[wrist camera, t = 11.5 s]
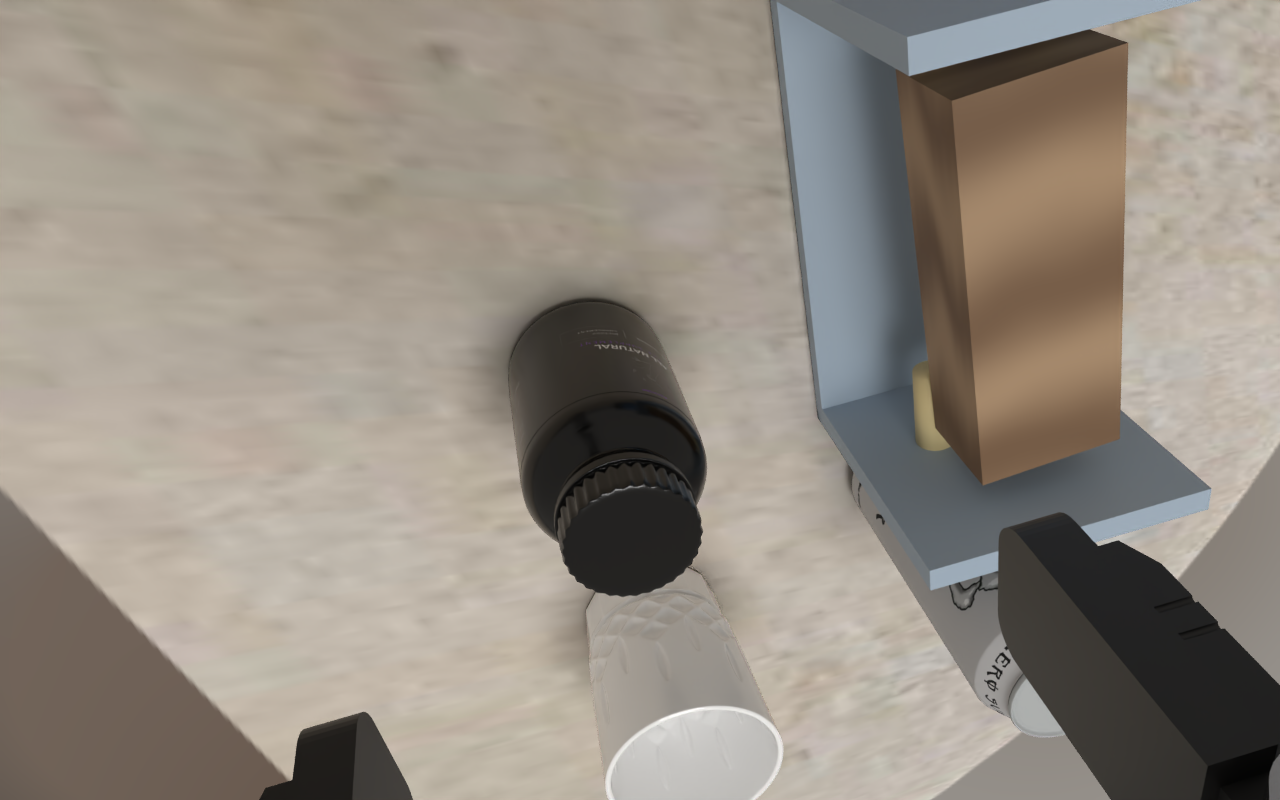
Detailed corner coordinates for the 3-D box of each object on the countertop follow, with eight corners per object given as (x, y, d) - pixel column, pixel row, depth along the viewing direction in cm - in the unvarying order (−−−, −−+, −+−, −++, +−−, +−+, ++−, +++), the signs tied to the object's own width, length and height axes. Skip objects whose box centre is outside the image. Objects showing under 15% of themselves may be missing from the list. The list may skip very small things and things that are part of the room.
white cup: (720, 653, 53) (777, 813, 45) (576, 675, 52) (607, 843, 43) (726, 540, 49) (790, 693, 41) (570, 561, 48) (602, 723, 39)
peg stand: (766, -32, 35) (907, 37, 25) (1053, -104, 36) (1303, -65, 26) (818, 417, 46) (930, 590, 36) (1037, 356, 47) (1208, 509, 37)
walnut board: (895, 69, 32) (951, 100, 29) (1053, 17, 32) (1128, 42, 29) (935, 428, 40) (982, 485, 37) (1061, 385, 40) (1119, 438, 37)
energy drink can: (930, 387, 46) (1120, 605, 34) (977, 464, 50) (1168, 690, 37) (823, 457, 47) (970, 695, 35) (876, 529, 51) (1029, 770, 38)
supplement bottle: (646, 277, 41) (723, 434, 31) (673, 411, 44) (749, 590, 34) (485, 319, 40) (508, 493, 30) (526, 450, 44) (559, 644, 34)
